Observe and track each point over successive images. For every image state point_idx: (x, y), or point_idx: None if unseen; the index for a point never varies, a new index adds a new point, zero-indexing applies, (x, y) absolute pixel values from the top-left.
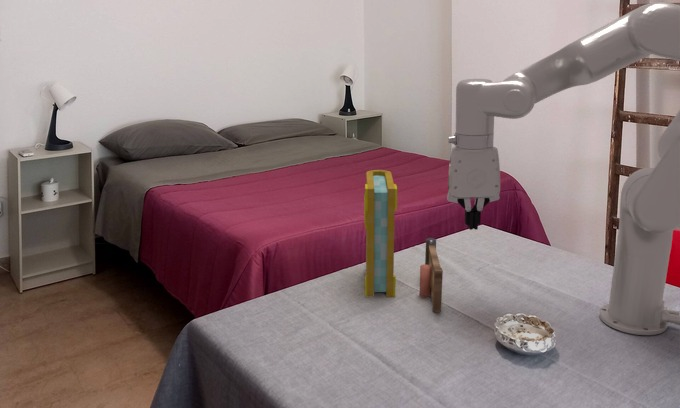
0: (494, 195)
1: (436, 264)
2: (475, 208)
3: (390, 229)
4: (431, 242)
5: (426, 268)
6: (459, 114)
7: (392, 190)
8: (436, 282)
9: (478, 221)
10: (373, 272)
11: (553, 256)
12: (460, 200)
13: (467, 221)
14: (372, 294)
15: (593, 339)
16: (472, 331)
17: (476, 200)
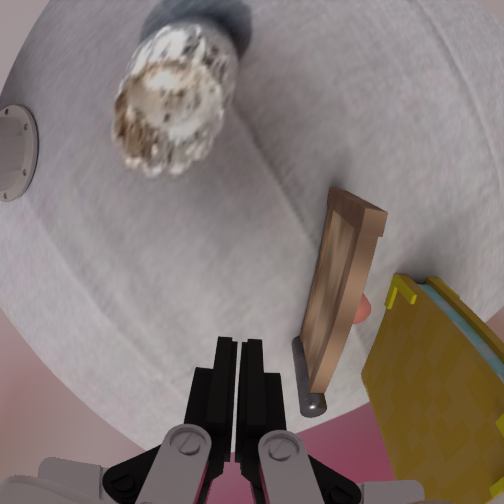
0: (32, 487)
1: (358, 275)
2: (219, 449)
3: (486, 367)
4: (317, 400)
5: (360, 300)
6: None
7: None
8: (368, 203)
9: (205, 376)
10: (453, 301)
11: (75, 378)
12: (345, 500)
13: (273, 383)
14: (431, 278)
15: (70, 80)
16: (281, 98)
17: (200, 500)
